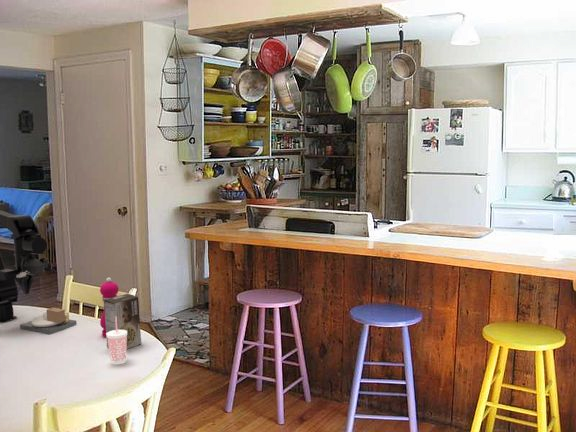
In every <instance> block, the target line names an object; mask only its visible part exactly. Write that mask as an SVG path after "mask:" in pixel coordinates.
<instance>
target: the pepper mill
mask: <svg viewBox="0 0 576 432" xmlns="http://www.w3.org/2000/svg"><path fill="white" fill-rule="evenodd" d="M105 280H106V281H105V282H104V283H102V284H101V286H100V287H99V292H100V294H101V296H102V297H101V300H102V302H103V303H104V300H105V299H109V298H113V297H116V296H118V295H117V294H118V292H119V289H120V288H119V286H118V284H117V283H116V282H113V281H112V278H111V277H107V278H106V279H105ZM99 325H100V327H101V328H102V330H101V334H102V336H103V337H104V338H107V337H106V322H105V307H104V306H103V312H102V314H101V317H100V323H99Z"/></svg>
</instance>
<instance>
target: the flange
mask: <svg viewBox="0 0 576 432" xmlns="http://www.w3.org/2000/svg"><path fill="white" fill-rule="evenodd" d="M65 313H66V310H65V309H62V308H58V307H50V308H47V309H46V312H43V314H42V315H40V316H36V317H33V318H32V319H31V321H32V325H33V326H36V327H48V326H54V325H58V324H61V323H63V321H65Z"/></svg>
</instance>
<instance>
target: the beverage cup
mask: <svg viewBox="0 0 576 432" xmlns="http://www.w3.org/2000/svg"><path fill="white" fill-rule="evenodd" d="M115 324H116V330H112V331H109V332H107V333H106V335H107V336H106V337H105V338H106V339H107V338H108V346H109V348H108V353H109V361H110V364H111V365H122V364H124V363H126V362H127V350H128V349H127V331H126V330H117V316H115Z"/></svg>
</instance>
